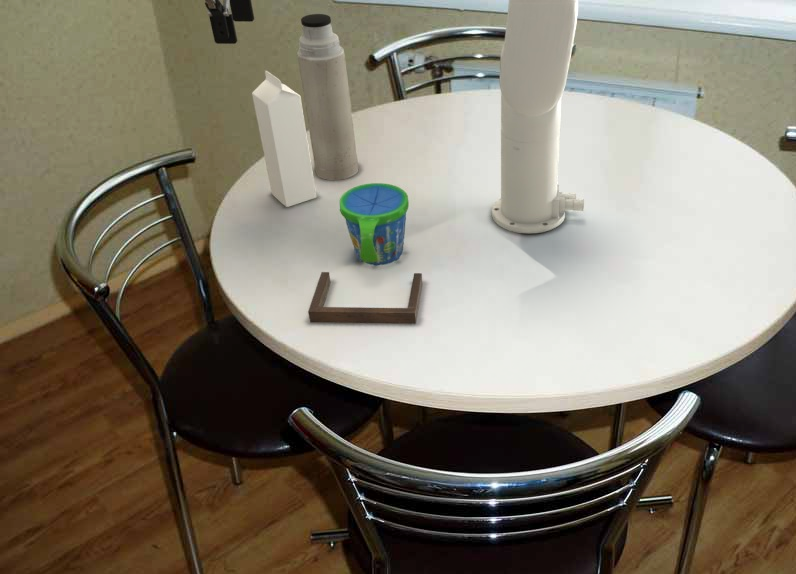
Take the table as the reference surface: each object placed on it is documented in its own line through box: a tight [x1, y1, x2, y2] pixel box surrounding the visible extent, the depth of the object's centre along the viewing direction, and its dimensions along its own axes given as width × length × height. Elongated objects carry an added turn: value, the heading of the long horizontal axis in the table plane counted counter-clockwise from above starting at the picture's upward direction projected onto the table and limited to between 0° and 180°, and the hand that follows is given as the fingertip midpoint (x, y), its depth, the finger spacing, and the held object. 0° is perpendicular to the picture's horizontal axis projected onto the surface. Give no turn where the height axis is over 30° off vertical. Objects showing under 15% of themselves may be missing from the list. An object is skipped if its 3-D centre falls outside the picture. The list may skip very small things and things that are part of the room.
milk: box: [251, 69, 317, 208], centre depth 143 cm, size 6×6×22 cm
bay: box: [307, 271, 424, 325], centre depth 124 cm, size 15×10×2 cm, turn 89°
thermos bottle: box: [296, 13, 359, 181], centre depth 148 cm, size 8×8×28 cm
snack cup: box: [339, 182, 409, 267], centre depth 132 cm, size 16×10×10 cm
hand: (235, 31), depth 125 cm, fingers open, 9 cm apart
